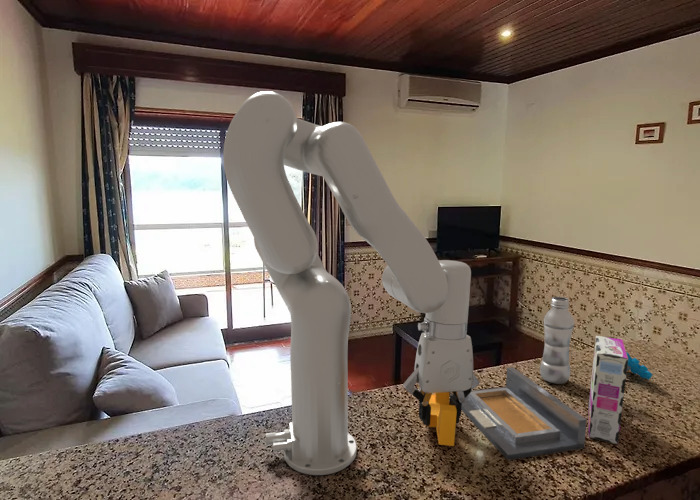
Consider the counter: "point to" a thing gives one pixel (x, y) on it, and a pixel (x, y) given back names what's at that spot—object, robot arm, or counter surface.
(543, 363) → the plastic bottle
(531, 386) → the grey tray with recess
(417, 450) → the counter surface
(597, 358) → the candy bar box
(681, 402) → the counter surface
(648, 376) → the gear
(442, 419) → the orange notched block
